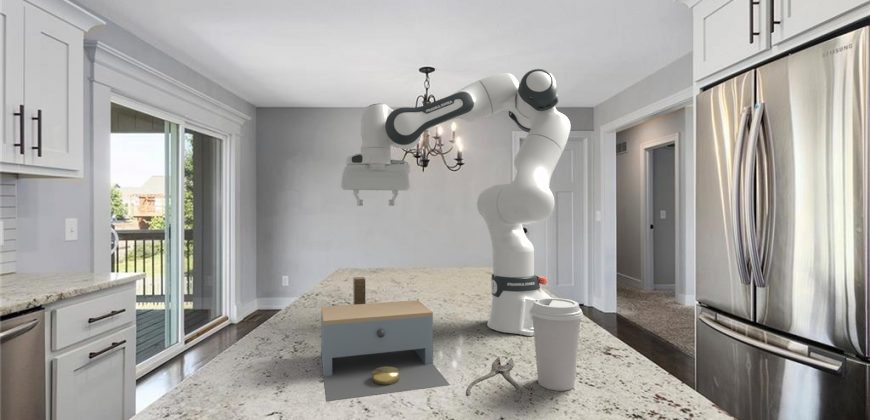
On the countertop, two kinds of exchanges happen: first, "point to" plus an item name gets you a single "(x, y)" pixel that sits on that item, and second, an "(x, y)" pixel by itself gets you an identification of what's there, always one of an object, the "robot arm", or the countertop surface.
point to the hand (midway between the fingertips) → (375, 205)
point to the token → (385, 376)
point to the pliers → (497, 369)
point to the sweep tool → (358, 290)
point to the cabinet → (375, 330)
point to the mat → (356, 370)
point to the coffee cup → (556, 341)
